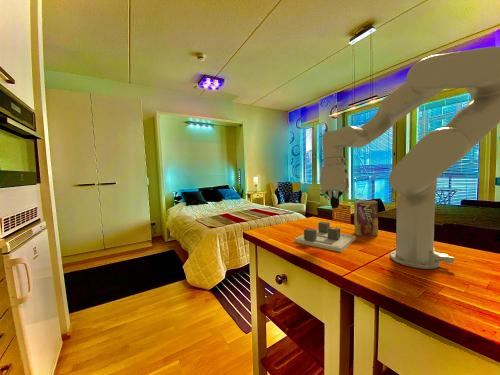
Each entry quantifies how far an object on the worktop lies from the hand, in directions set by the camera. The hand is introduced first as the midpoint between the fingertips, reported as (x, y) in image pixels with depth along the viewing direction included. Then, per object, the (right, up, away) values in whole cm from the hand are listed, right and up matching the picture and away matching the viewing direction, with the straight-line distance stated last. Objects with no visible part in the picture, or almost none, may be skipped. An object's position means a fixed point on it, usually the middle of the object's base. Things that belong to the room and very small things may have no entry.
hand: (334, 207), depth 87 cm
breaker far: (-1, -12, +11) cm, 16 cm away
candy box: (+18, -13, +11) cm, 25 cm away
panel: (-2, -14, +4) cm, 15 cm away
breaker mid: (0, -13, +1) cm, 13 cm away
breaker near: (-10, -13, +1) cm, 16 cm away
